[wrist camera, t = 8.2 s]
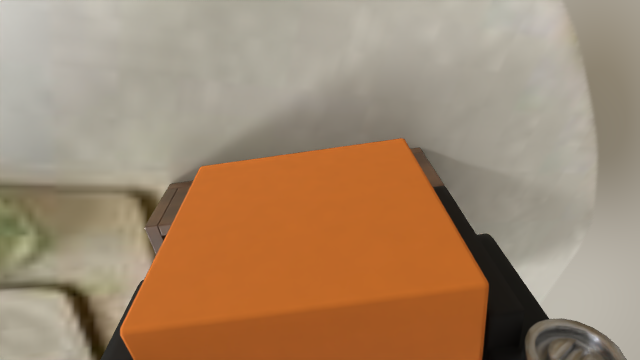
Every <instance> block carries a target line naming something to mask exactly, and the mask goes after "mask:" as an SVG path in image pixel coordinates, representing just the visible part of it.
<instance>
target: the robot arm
mask: <svg viewBox="0 0 640 360" xmlns="http://www.w3.org/2000/svg"><path fill="white" fill-rule="evenodd" d="M433 189H434V191H435V192H436V194H437V196H438V197H439V199H440V201H441V203H442V204H443V206H444V208H445V209H446V211H447V213H448V214H449V216H450V218H451V220H452V221H453V223H454V225H455V226H456V228H457V230H458V232H459V233H460V235H461V237H462V238H463V240H464V242H465V243H466V245H467V247H468V249H469V250H470V252H471V254H472V255H473V257H474V259H475V261H476V262H477V264H478V266H479V267H480V269H481V271H482V273H483V274H484V276H485V278H486V279H487V281H488V283H489V292H488V303H487V314H486V324H485V335H484V346H483V356H482V360H627V359H626V358H625V356H624V355H623V353H622V352H621V350H620V349H619V347H618V346H617V345H616V344H615V343H614V342H612V341H611V340H610V339H609V338H608V337H607V336H605V335H604V334H602V333H601V332H599V331H598V330H596V329H594V328H593V327H590V326H587V325H585V324H582V323H580V322H577V321H572V320H567V319H549V318H548V317H547V315H546V314H545V312H544V311H543V309H542V308H541V306H540V305H539V304H538V302H537V301H536V299H535V298H534V296H533V295H532V294H531V292H530V291H529V289H528V288H527V286H526V285H525V284H524V282H523V281H522V279H521V278H520V276H519V275H518V273H517V272H516V271H515V269H514V268H513V266H512V265H511V263H510V262H509V261H508V259H507V258H506V256H505V255H504V253H503V252H502V250H501V249H500V248H499V246H498V245H497V243H496V242H495V240H494V239H493V238H492V237H491V236H490V235H489V234H479V235H476V233H475V232H474V230H473V229H472V227H471V226H470V224H469V222H468V221H467V219H466V218H465V216H464V215H463V213H462V212H461V210H460V208H459V207H458V205H457V204H456V202H455V201H454V199H453V198H452V196H451V194H450V193H449V191H448V190H447V188H446V187H445V186H436V187H433ZM170 227H171V226H170ZM169 229H170V228H169ZM168 231H169V230H168ZM167 233H168V232H167ZM166 235H167V234H166ZM165 237H166V236H165ZM143 281H144V280H142V281H141V282H140V284H139V285H138V287H137V289H136V291H135V293H134V295H133V297H132V299H131V301H130V302H129V304H128V306H127V308H126V310H125V312H124V314H123V316H122V318H121V320H120V322H119V324H118V326H117V328H116V330H115V332H114V334H113V336H112V338H111V340H110V342H109V344H108V346H107V348H106V350H105V352H104V354H103V356H102V358H101V360H133V358H132V356H131V354H130V352H129V350H128V349H127V347H126V345H125V343H124V341H123V339H122V338H121V336H120V328H121V326H122V324H123V322H124V320H125V318H126V316H127V314H128V312H129V310H130V308H131V306H132V304H133V301H134V299H135V297H136V295H137V293H138V291H139V289H140V287H141V285H142V283H143Z"/></svg>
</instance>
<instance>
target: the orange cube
mask: <svg viewBox="0 0 640 360" xmlns="http://www.w3.org/2000/svg"><path fill="white" fill-rule="evenodd" d="M488 292H489V283H488V281H487V279H486V278H485V276H484V274H483V273H482V271H481V269H480V267H479V266H478V264H477V262H476V261H475V259H474V257H473V255H472V254H471V252H470V250H469V249H468V247H467V245H466V243H465V242H464V240H463V238H462V237H461V235H460V233H459V232H458V230H457V228H456V226H455V225H454V223H453V221H452V220H451V218H450V216H449V214H448V213H447V211H446V209H445V208H444V206H443V204H442V203H441V201H440V199H439V197H438V196H437V194H436V192H435V191H434V189H433V187H432V185H431V184H430V182H429V180H428V179H427V177H426V175H425V174H424V172H423V170H422V168H421V167H420V165H419V163H418V162H417V160H416V158H415V156H414V155H413V153H412V151H411V150H410V148H409V146H408V144H407V143H406V141H405V139H402V138H400V139H393V140H386V141H379V142H372V143H364V144H357V145H350V146H343V147H336V148H329V149H322V150H314V151H307V152H300V153H293V154H286V155H279V156H272V157H264V158H257V159H250V160H243V161H236V162H229V163H222V164H214V165H207V166H202V167H200V168H199V170H198V172H197V174H196V176H195V179H194V181H193V183H192V185H191V187H190V189H189V191H188V193H187V195H186V197H185V199H184V201H183V203H182V205H181V207H180V209H179V211H178V213H177V215H176V217H175V219H174V221H173V223H172V225H171V227H170V229H169V231H168V233H167V235H166V237H165V239H164V241H163V243H162V245H161V247H160V249H159V251H158V253H157V255H156V257H155V259H154V261H153V263H152V265H151V267H150V269H149V271H148V273H147V275H146V277H145V279H144V281H143V283H142V285H141V287H140V289H139V291H138V293H137V295H136V297H135V299H134V301H133V304H132V306H131V308H130V310H129V312H128V314H127V316H126V318H125V320H124V322H123V324H122V326H121V328H120V336H121V338H122V339H123V341H124V343H125V345H126V347H127V349H128V350H129V352H130V354H131V356H132V358H133V360H482V356H483V346H484V335H485V324H486V314H487V303H488Z"/></svg>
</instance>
